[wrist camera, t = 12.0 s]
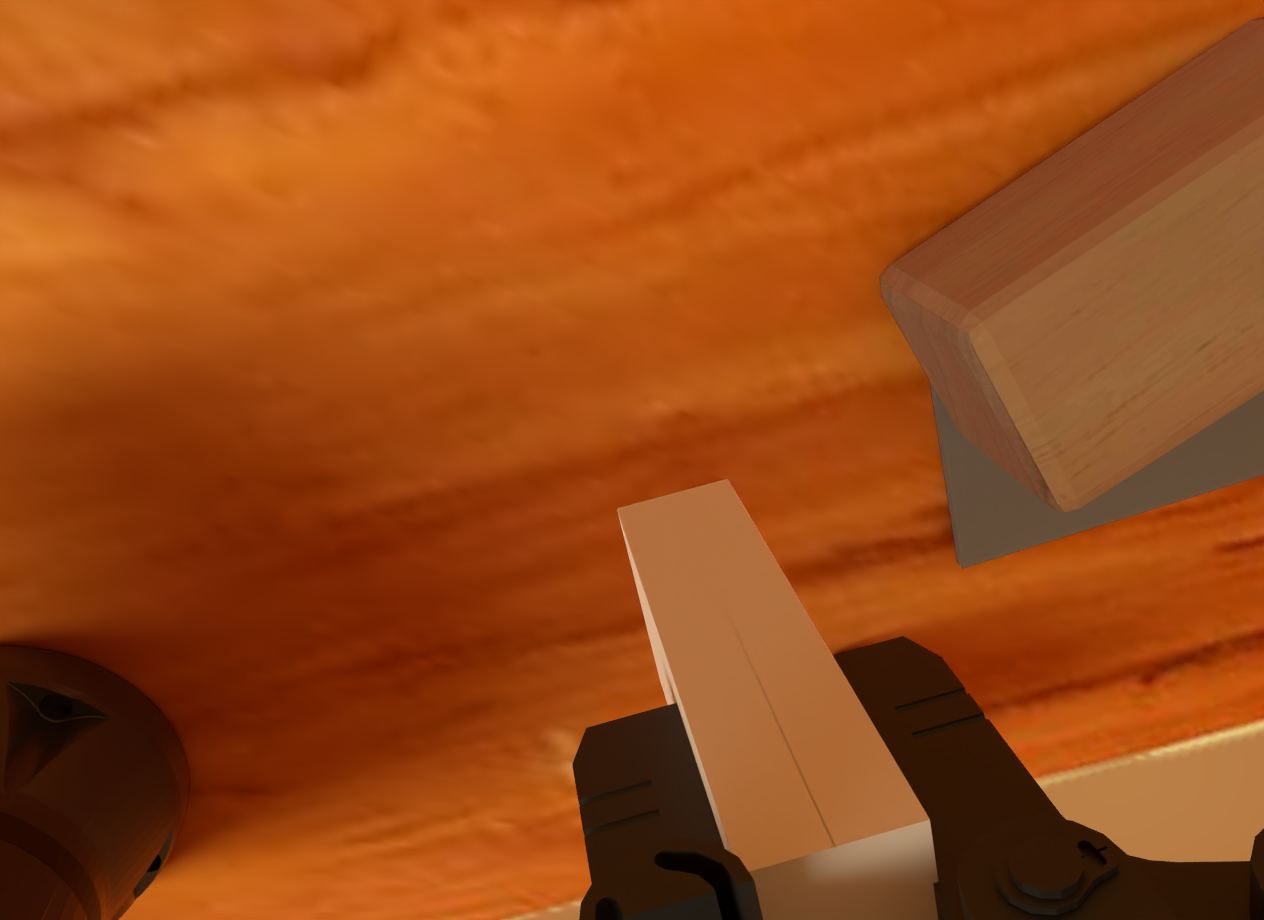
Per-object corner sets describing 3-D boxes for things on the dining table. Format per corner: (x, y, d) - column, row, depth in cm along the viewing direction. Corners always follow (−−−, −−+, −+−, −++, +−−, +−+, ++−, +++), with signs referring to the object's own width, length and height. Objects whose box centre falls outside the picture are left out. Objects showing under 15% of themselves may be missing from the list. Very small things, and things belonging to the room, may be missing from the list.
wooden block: (958, 440, 53) (1324, 200, 51) (1065, 530, 44) (1516, 241, 42) (863, 272, 49) (1256, 5, 47) (958, 333, 40) (1451, 5, 38)
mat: (957, 563, 56) (962, 568, 56) (911, 266, 50) (916, 269, 49) (1302, 455, 57) (1311, 460, 56) (1301, 149, 51) (1310, 151, 50)
